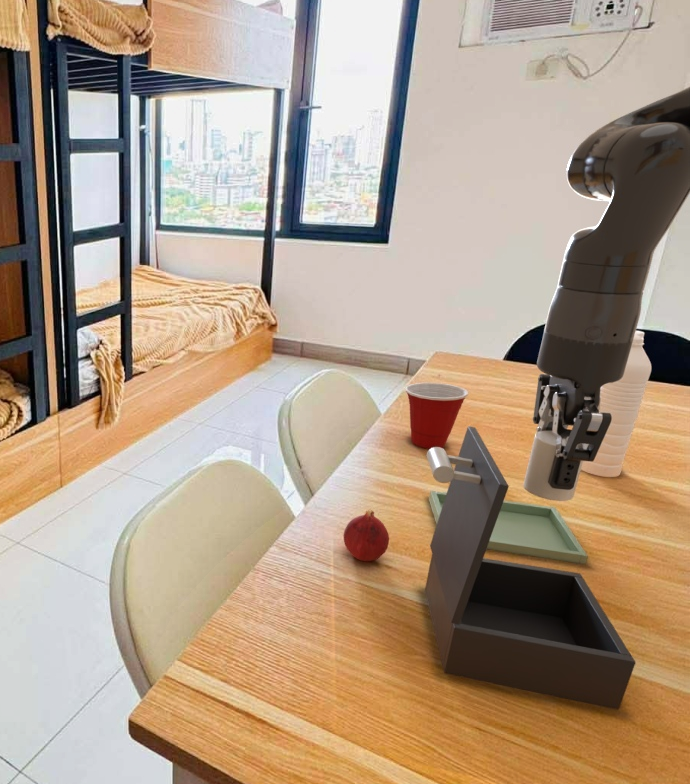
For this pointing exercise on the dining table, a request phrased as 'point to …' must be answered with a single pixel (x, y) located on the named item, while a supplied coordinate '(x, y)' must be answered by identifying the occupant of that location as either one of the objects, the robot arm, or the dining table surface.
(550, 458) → the white cylinder
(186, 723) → the dining table surface
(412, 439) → the plastic cup
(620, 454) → the water bottle
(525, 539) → the drip tray
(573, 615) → the dark gray hinged box
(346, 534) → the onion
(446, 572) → the lid
